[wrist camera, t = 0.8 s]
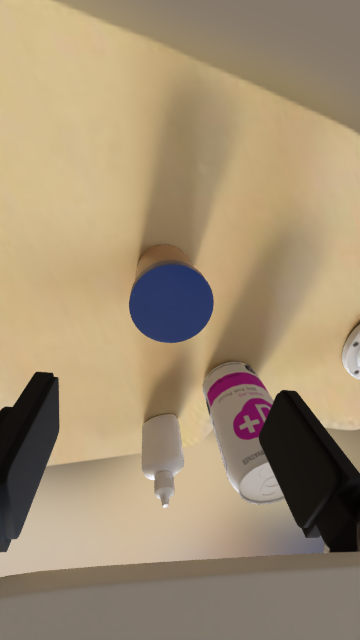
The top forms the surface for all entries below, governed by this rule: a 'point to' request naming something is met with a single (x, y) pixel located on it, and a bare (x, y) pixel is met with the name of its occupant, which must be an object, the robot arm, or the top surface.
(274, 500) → the supplement can
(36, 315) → the top surface
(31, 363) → the top surface
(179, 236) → the top surface
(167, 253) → the jar
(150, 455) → the eye dropper bottle
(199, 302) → the lid
